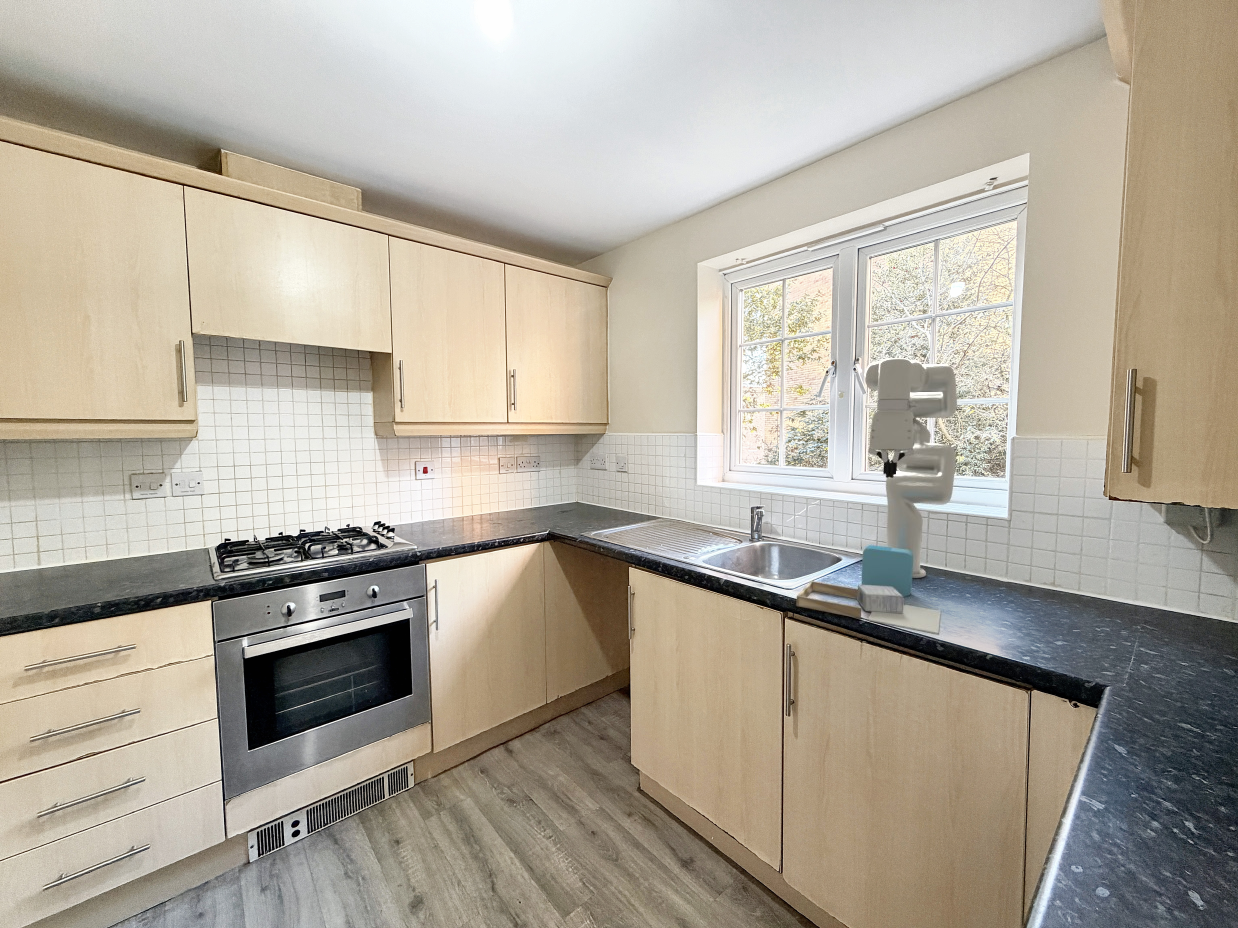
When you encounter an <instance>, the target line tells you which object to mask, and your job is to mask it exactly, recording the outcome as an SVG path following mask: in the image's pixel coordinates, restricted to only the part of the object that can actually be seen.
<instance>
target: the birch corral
mask: <svg viewBox="0 0 1238 928" xmlns="http://www.w3.org/2000/svg"><path fill="white" fill-rule="evenodd" d="M812 592H818V593H824V594H829V595H834V596H841V597H845V598H852V599H857V595H858V588H857V587H856V588H855V587H850V586H843V585H838V584H833V583H825V582H819V581H814V580H810V581H809V583H808V584H806V586H805V587H804V588H803V589H801V591H800V592H799V593H798V594H797V596H796V602H795V603H796V605H795V606H796V607H801V608H805V609H811V610H816V611H821V612H827V613H832V614H837V615H842V616H847V617H852V618H858V619H862V609H863V607H862V606H856V605H850V604H845V603H840V602H834V601H831V600H830V601H829V600H824V599H819V598H818V599H817V598H813V597H808V596H809V595H811V593H812Z"/></svg>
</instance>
